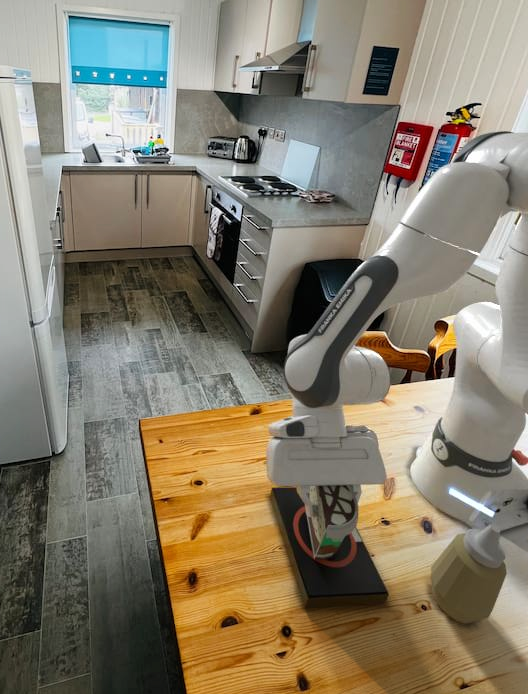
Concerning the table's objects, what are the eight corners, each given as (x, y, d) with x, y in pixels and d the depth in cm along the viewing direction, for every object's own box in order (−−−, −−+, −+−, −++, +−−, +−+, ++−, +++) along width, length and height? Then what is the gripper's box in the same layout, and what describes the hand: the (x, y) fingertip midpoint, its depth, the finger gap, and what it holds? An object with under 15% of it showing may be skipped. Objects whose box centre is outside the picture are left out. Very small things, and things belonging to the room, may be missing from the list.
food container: (355, 577, 62) (372, 536, 59) (315, 569, 63) (329, 528, 59) (337, 503, 74) (349, 465, 70) (303, 497, 74) (314, 459, 71)
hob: (333, 495, 78) (336, 484, 77) (384, 604, 62) (389, 592, 61) (269, 497, 77) (272, 486, 76) (304, 608, 61) (308, 596, 60)
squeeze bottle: (417, 599, 63) (455, 526, 56) (431, 561, 68) (467, 490, 61) (478, 647, 58) (529, 573, 51) (488, 602, 63) (535, 529, 56)
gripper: (365, 425, 75) (380, 510, 70) (259, 425, 73) (267, 513, 68) (384, 425, 69) (402, 518, 64) (271, 426, 67) (280, 522, 62)
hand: (332, 515), depth 66 cm, fingers closed on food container, 5 cm apart
